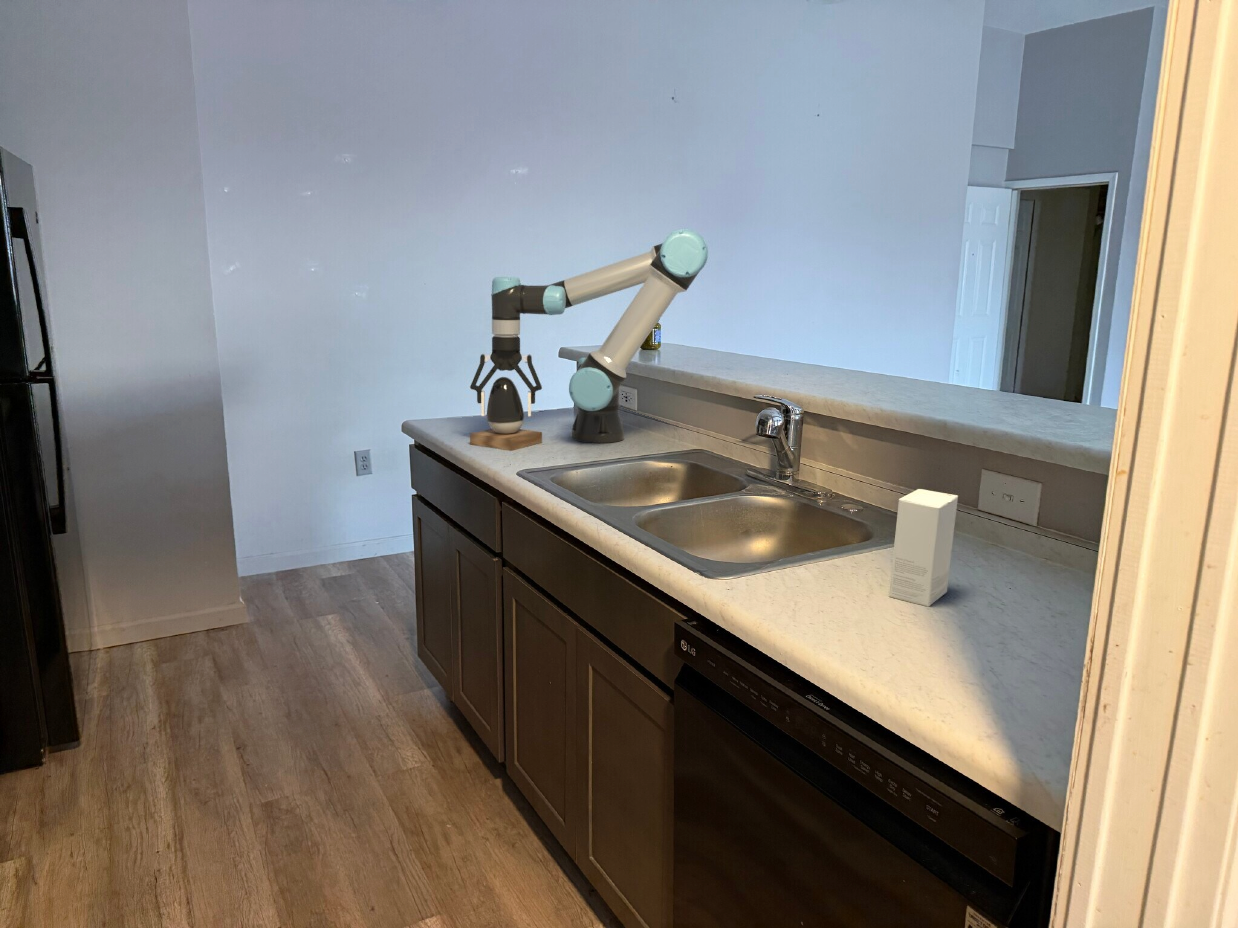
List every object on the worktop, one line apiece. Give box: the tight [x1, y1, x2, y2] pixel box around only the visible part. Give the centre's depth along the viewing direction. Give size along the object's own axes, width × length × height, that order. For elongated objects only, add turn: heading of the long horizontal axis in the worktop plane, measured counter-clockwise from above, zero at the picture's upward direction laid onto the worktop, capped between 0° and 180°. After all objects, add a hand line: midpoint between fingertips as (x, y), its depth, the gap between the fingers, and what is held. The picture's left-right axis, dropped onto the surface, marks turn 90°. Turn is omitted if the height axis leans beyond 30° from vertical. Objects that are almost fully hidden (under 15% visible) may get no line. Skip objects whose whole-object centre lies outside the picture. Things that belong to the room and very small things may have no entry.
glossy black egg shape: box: [486, 376, 525, 434], centre depth 243 cm, size 10×10×15 cm
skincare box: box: [888, 488, 959, 607], centre depth 134 cm, size 8×7×16 cm
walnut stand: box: [469, 428, 543, 451], centre depth 245 cm, size 14×14×3 cm
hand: (506, 415), depth 244 cm, fingers open, 12 cm apart
